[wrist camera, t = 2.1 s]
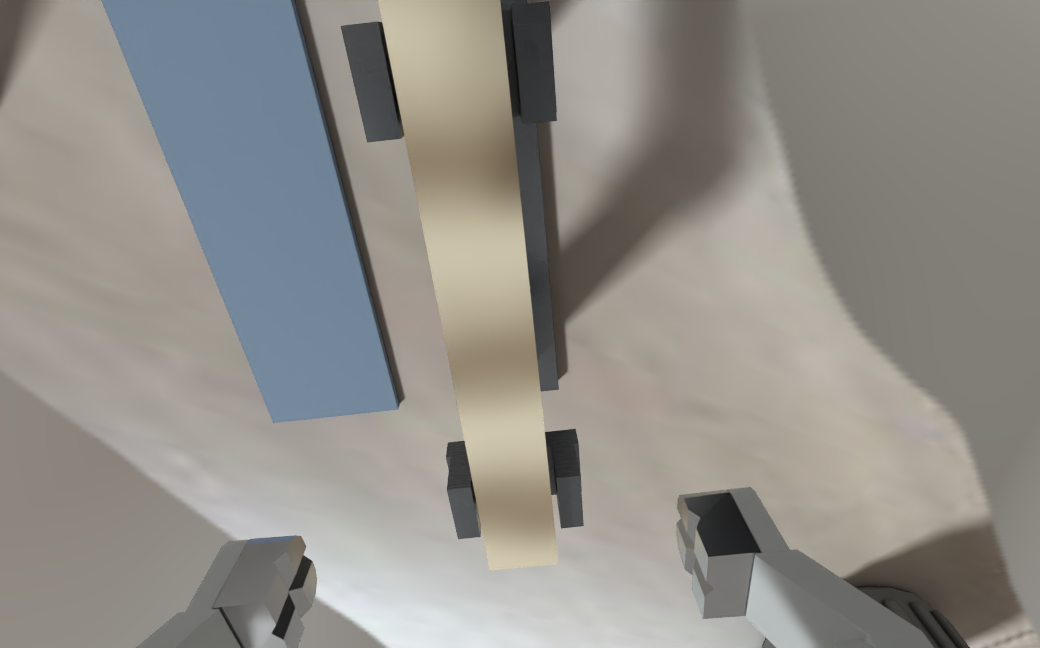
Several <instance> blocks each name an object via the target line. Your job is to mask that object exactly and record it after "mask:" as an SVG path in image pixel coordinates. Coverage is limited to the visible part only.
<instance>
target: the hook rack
mask: <svg viewBox="0 0 1040 648" xmlns="http://www.w3.org/2000/svg"><path fill="white" fill-rule="evenodd" d="M500 3H501V13H502V23H503V32H504V42H505V52H506V61H507V71H508V81H509V91H510V100H511V110H512V120H513V129H514V139H515V149H516V158H517V168H518V178H519V188H520V197H521V207H522V217H523V226H524V236H525V246H526V255H527V265H528V275H529V284H530V294H531V304H532V314H533V323H534V333H535V343H536V352H537V362H538V372H539V381H540V391H549V390H559V387H558V375H557V363H556V351H555V339H554V327H553V315H552V302H551V290H550V278H549V266H548V254H547V242H546V230H545V218H544V206H543V194H542V182H541V170H540V158H539V146H538V134H537V123H541V122H549V121H557V117H556V112H557V110H556V95H555V80H554V65H553V50H552V34H551V19H550V5H549V2H541V3H532V4H527V2H526V0H500ZM341 29H342V34H343V38H344V43H345V47H346V51H347V56H348V60H349V64H350V69H351V73H352V78H353V82H354V86H355V91H356V95H357V99H358V104H359V108H360V112H361V117H362V121H363V126H364V130H365V134H366V139H367V142H375V141H384V140H393V139H401V138H402V137H403V136H404V130H403V125H402V120H401V115H400V109H399V104H398V99H397V94H396V89H395V84H394V79H393V74H392V69H391V64H390V58H389V53H388V48H387V43H386V38H385V33H384V28H383V23H382V22H371V23H362V24H354V25H345V26H341ZM545 440H546V449H547V459H548V469H549V478H550V488H551V495H556V494H557V501H558V509H559V516H560V524H561V528H569V527H578V526H584V525H583V510H582V495H581V492H582V490H581V475H580V460H579V445H578V439H577V434H576V429H570V430H561V431H552V432H545ZM446 459H447V464H448V468H449V476H448V485H447V492H448V497H449V501H450V505H451V510H452V514H453V519H454V523H455V527H456V532H457V536H458V539H464V538H474V537H481V523H480V517H479V512H478V507H477V502H476V497H475V492H474V487H473V482H472V477H471V472H470V466H469V461H468V456H467V451H466V446H465V441H459V442H449V443H448V446H447V454H446Z"/></svg>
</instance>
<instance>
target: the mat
mask: <svg viewBox="0 0 1040 648" xmlns="http://www.w3.org/2000/svg"><path fill="white" fill-rule="evenodd" d="M101 1H102V3H103V6H104V8H105V10H106V13H107V15H108V18H109V20H110V23H111V25H112V28H113V30H114V33H115V35H116V37H117V40H118V42H119V45H120V47H121V50H122V52H123V55H124V57H125V60H126V62H127V65H128V67H129V69H130V72H131V74H132V77H133V79H134V82H135V84H136V87H137V89H138V92H139V94H140V96H141V99H142V101H143V104H144V106H145V109H146V111H147V114H148V116H149V119H150V121H151V124H152V126H153V128H154V131H155V133H156V136H157V138H158V141H159V143H160V146H161V148H162V151H163V153H164V156H165V158H166V160H167V163H168V165H169V168H170V170H171V173H172V175H173V178H174V180H175V183H176V185H177V187H178V190H179V192H180V195H181V197H182V200H183V202H184V205H185V207H186V210H187V212H188V215H189V217H190V219H191V222H192V224H193V227H194V229H195V232H196V234H197V237H198V239H199V242H200V244H201V246H202V249H203V251H204V254H205V256H206V259H207V261H208V264H209V266H210V269H211V271H212V274H213V276H214V278H215V281H216V283H217V286H218V288H219V291H220V293H221V296H222V298H223V301H224V303H225V305H226V308H227V310H228V313H229V315H230V318H231V320H232V323H233V325H234V328H235V330H236V333H237V335H238V337H239V340H240V342H241V345H242V347H243V350H244V352H245V355H246V357H247V360H248V362H249V365H250V367H251V369H252V372H253V374H254V377H255V379H256V382H257V384H258V387H259V389H260V392H261V394H262V396H263V399H264V401H265V404H266V406H267V409H268V411H269V414H270V416H271V419H272V421H273V423H277V422H287V421H296V420H305V419H314V418H323V417H333V416H342V415H351V414H360V413H370V412H379V411H388V410H397V409H398V408H399V401H398V397H397V393H396V389H395V385H394V382H393V378H392V374H391V370H390V366H389V362H388V358H387V355H386V351H385V347H384V343H383V339H382V335H381V331H380V328H379V324H378V320H377V316H376V312H375V308H374V305H373V301H372V297H371V293H370V289H369V285H368V281H367V278H366V274H365V270H364V266H363V262H362V258H361V254H360V251H359V247H358V243H357V239H356V235H355V231H354V228H353V224H352V220H351V216H350V212H349V208H348V204H347V201H346V197H345V193H344V189H343V185H342V181H341V177H340V174H339V170H338V166H337V162H336V158H335V154H334V151H333V147H332V143H331V139H330V135H329V131H328V127H327V124H326V120H325V116H324V112H323V108H322V104H321V100H320V97H319V93H318V89H317V85H316V81H315V77H314V74H313V70H312V66H311V62H310V58H309V54H308V50H307V47H306V43H305V39H304V35H303V31H302V27H301V23H300V20H299V16H298V12H297V8H296V4H295V0H101Z"/></svg>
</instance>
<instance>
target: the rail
mask: <svg viewBox="0 0 1040 648" xmlns="http://www.w3.org/2000/svg"><path fill="white" fill-rule="evenodd" d="M378 2H379V7H380V13H381V18H382V23H383V28H384V33H385V38H386V43H387V48H388V53H389V58H390V64H391V69H392V74H393V79H394V84H395V89H396V94H397V99H398V104H399V109H400V115H401V120H402V125H403V130H404V135H405V140H406V145H407V150H408V155H409V160H410V166H411V171H412V176H413V181H414V186H415V191H416V196H417V201H418V206H419V211H420V217H421V222H422V227H423V232H424V237H425V242H426V247H427V252H428V257H429V262H430V268H431V273H432V278H433V283H434V288H435V293H436V298H437V303H438V308H439V313H440V319H441V324H442V329H443V334H444V339H445V344H446V349H447V354H448V359H449V364H450V370H451V375H452V380H453V385H454V390H455V395H456V400H457V405H458V410H459V415H460V421H461V426H462V431H463V436H464V441H465V446H466V451H467V456H468V461H469V466H470V472H471V477H472V482H473V487H474V492H475V497H476V502H477V507H478V512H479V517H480V523H481V528H482V533H483V538H484V543H485V548H486V553H487V558H488V563H489V568H490V571H492V570H501V569H511V568H520V567H530V566H539V565H549V564H558V556H557V546H556V537H555V527H554V517H553V507H552V498H551V488H550V478H549V469H548V459H547V449H546V440H545V430H544V420H543V411H542V401H541V391H540V381H539V372H538V362H537V352H536V343H535V333H534V323H533V314H532V304H531V294H530V284H529V275H528V265H527V255H526V246H525V236H524V226H523V217H522V207H521V197H520V188H519V178H518V168H517V158H516V149H515V139H514V129H513V120H512V110H511V100H510V91H509V81H508V71H507V61H506V52H505V42H504V32H503V23H502V13H501V3H500V0H378Z"/></svg>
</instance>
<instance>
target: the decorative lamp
mask: <svg viewBox="0 0 1040 648" xmlns="http://www.w3.org/2000/svg"><path fill="white" fill-rule="evenodd" d="M857 589H858V590H860V591H861V592H863V593H864V594H866V595H867V596H869V597H871V598H872V599H874V600H875V601H877V602H878V603H880V604H881V605H883V606H884V607H886V608H887V609H889V610H890V611H892V612H893V613H895V614H896V615H898V616H899V617H901V618H902V619H904V620H906V621H907V622H909V623H910V624H912V625H913V626H915V627H916V628H918V629H919V630H921V631H922V632H923V633H924V635H925V636H926V638H927V639H928V640H929V642H930V643H931V644H932V646H933V647H934V648H970V647H969V646H968V645H967V644H966V642H965V641H964V640H963V638H962V637H961V636H960V635H959V633H958V632H957V631H956V630H955V628H954V627H953V626H952V624H951V623H950V622H949V621H948V620H947V619H946V618H945V617H944V616H943V615H942V614H941V613H939V612H938V611H937V610H933V609H932V608H931V607H930V605H929V604H928V603H926V602H925V601H923V600H922V599H921V598H919V597H918V596H916V595H915V594H913V593H909V592H905V591H901V590H897V589H893V588H889V587H857ZM762 648H776V647H775V646H774V645H773V644H772V643H771V642H770V641H769V640H768V639H767V638H766V640H765V642H764V645H763V647H762Z"/></svg>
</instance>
